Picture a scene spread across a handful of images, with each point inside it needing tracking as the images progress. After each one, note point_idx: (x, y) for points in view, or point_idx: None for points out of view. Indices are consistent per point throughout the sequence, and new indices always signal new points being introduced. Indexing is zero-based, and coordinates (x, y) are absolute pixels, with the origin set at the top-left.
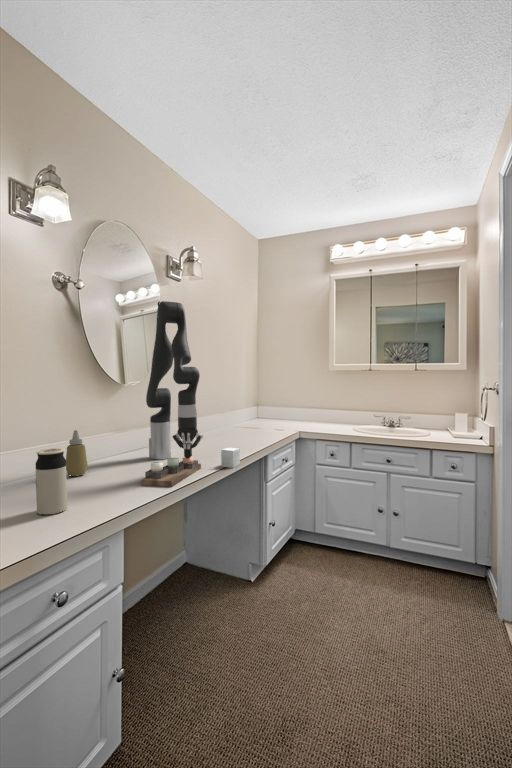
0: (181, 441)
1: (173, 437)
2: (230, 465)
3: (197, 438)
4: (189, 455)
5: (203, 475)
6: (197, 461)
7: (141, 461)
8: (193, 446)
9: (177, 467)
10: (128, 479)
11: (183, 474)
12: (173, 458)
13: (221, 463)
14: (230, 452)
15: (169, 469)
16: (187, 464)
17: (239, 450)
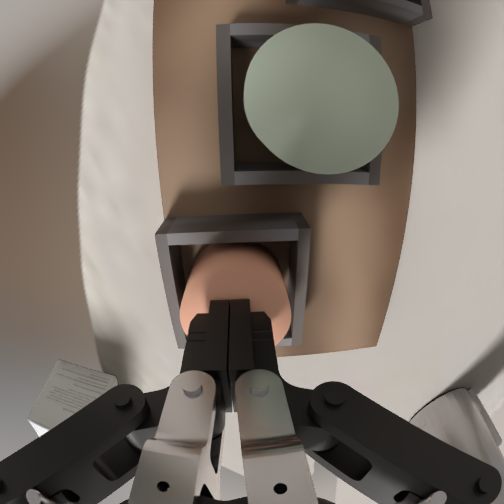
0: (348, 476)
1: (485, 474)
2: (67, 369)
3: (20, 483)
4: (203, 324)
5: (83, 185)
6: (177, 336)
7: (496, 352)
8: (110, 399)
9: (225, 47)
10: (492, 41)
11: (153, 32)
12: (332, 120)
13: (111, 387)
14: (41, 417)
15: None
16: (205, 229)
17: None
